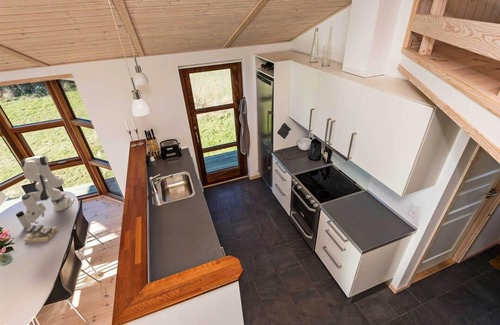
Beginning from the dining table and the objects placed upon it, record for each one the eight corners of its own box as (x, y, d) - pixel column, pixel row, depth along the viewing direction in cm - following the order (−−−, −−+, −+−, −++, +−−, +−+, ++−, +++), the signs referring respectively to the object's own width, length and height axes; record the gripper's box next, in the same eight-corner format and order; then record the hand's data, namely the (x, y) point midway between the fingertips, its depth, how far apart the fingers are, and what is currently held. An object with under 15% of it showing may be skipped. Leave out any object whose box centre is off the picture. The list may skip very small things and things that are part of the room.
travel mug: (27, 229, 259) (18, 215, 249) (22, 228, 261) (13, 214, 251) (33, 225, 265) (24, 211, 255) (28, 224, 266) (19, 210, 256)
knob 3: (49, 232, 255) (46, 227, 251) (53, 232, 255) (51, 227, 252) (44, 238, 248) (41, 233, 245) (48, 238, 248) (45, 233, 245)
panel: (36, 230, 258) (34, 227, 256) (58, 229, 259) (56, 226, 257) (25, 242, 244) (23, 239, 242) (48, 241, 245) (46, 238, 243)
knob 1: (33, 230, 252) (30, 225, 249) (38, 230, 253) (35, 225, 249) (28, 236, 246) (24, 231, 242) (32, 236, 246) (29, 230, 242)
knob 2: (40, 230, 253) (37, 224, 249) (45, 229, 253) (42, 224, 249) (35, 235, 246) (32, 230, 242) (40, 235, 246) (36, 230, 242)
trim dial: (32, 236, 245) (30, 234, 244) (35, 236, 245) (33, 234, 244) (30, 238, 243) (28, 236, 241) (33, 238, 243) (31, 236, 241)
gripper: (38, 202, 243) (43, 212, 250) (22, 216, 225) (29, 227, 232) (44, 202, 243) (50, 212, 250) (29, 216, 226) (36, 227, 233)
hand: (40, 219), depth 241 cm, fingers open, 8 cm apart
